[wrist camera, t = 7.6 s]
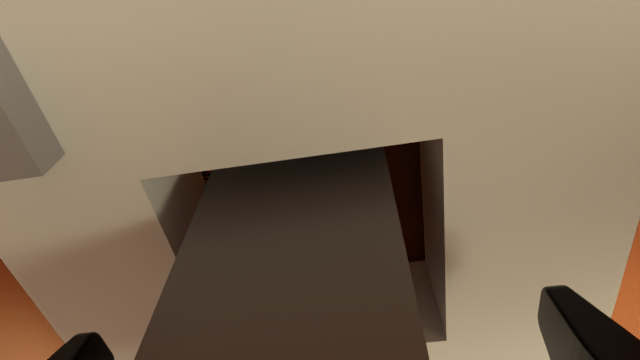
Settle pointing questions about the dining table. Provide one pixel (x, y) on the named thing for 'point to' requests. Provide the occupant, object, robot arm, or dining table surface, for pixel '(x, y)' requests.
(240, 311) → the plug
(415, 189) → the dining table surface
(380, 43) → the socket
